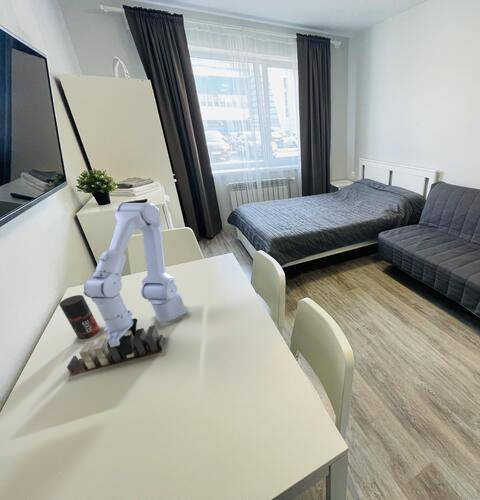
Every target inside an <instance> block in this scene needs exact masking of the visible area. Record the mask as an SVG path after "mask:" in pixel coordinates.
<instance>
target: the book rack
mask: <svg viewBox="0 0 480 500" xmlns="http://www.w3.org/2000/svg"><path fill="white" fill-rule="evenodd" d="M108 340H109V338H108V337H107V336H104V337H99V338H98V340H97V341H96V342H95V340H94V339H90V340H87V341H85V343H84V345H83V346H82V347H81V349H80V351H79V356H80V358H78V357H77V355H73V357H71V360H70V361H69V363H68V365H66V369H67V370H68V372H69V373H70V374H69V375H68V377H69V378H70V377H73V376H77V375H81V374H85V373H88V372H92V371H96V370H101V369H104V368H108V367H111V366H115V365H119V364H122V363H123V364H124V363H126V362H130V361H134V360H138V359H141V358H145V357H149V356H153V355H157V354H160V353H163V348H164V344H165V340H166V337H164V335H163V334H159V331H158V329H157V326H156V325H155V324H154V325H151V326H148V328H147V331H145V329H144V327H142V328H138V329H137V328H136V333H135V336H134V339H133V341H134V344H135V348H134V352H135V355H134V357H130V358H127V356H124V355H123V354H122V353H121V352H120V351H118V350H117V349H116V348H113V347H111V346H108V344H107V342H108Z"/></svg>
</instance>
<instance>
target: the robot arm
mask: <svg viewBox="0 0 480 500" xmlns="http://www.w3.org/2000/svg"><path fill="white" fill-rule="evenodd" d="M114 218H115V220H116V225H115V227H114V231H113V234H112V239H111V242H110V245H109V248H108V249H107V250H105V251H103V252H102V253H101V255H100V256H99V259H98V263H97V265H96V267H95V270H94V272H93V275H92V277H90V278H89V279H87V280H86V282H84V285H83V292H82V293H83V295H84V296H85V297H87V298H90V299H91V301H92V302H93V303H95V305H96V307H97V310H98V312H99V313H100V315H101V317H102V320H103V321H104V323H105V325H106V326H105V327H104V329H103V332H104V333H108V342H107V344H108V346H111V347H113V348H116V349H117V350H118V351H120V352H121V353H122V354H123V355H124V356H126V355H130V354H132V353H133V349H132V346H131V335H128V336H125V335H124V334H125V333H126V332H127V331H129V330H131V331H132V334H133V336H135V333H136V331H137V324H138V319H137V317H136V318H133V312H132V310H131V309H127V307H126V304H125V302H124V300H123V298H122V295H121V290H122V288H123V284H122V283H123V282H122V276H121V274H122V272H123V268H124V266H125V263H126V261H127V257H126V255H125V253H124V252H125V250H126V248H127V247H128V245H129V242H130V241H131V237H132V236H133V233H134V232H135V230H138V229H139V230H140V231H141V233H142V240H143V249H144V258H145V265H146V266H145V267H146V274H147V275H146V276H145V277H144V278H143V279H142V280H141V290H140V293H141V297H142V298H143V299H144V300H148V302H149V303H150V304H151V307H152V310H153V312H154V314H155V317H156V320H157V322H158V323H160V324H161V323H163V324H165V323H169V322H172V321H174V320H176V319H177V318H180V317H181V316H184V315H186V314H187V311H186V306H185V304H184V302H183V299H182V296H181V294H180V293H179V292H178V287H177V284H176V283H175V278H174V277H173V276H172V275H170V274H168V273H167V272H166V263H165V262H166V261H165V253H164V245H163V235H162V225H161V219H160V218H161V217H160V209H159V208H158V207H157V206H156V205H155V204H154V203H152V202H121V203H119V204H118V205H117V207H116V211H115V212H114ZM123 335H124V336H123Z"/></svg>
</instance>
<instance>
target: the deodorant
mask: <svg viewBox="0 0 480 500" xmlns="http://www.w3.org/2000/svg"><path fill="white" fill-rule="evenodd" d="M59 307H60V309H61V311H62V312H63V314H64V316H65V317H66V319H67V321H68V323H69V324H70V326H71V328H72V329H73V332H74V333H75V335H76V337H77V338H78V340H81V341H82V340H88V339H91V338H93V337H94V336H96V335H97V334H99V333H100V331H101V328H100V327H99V324H98V322H97V321H96V319H95V317H94V315H93V313H92V311H91V309H90V307H89V304H88V303H87V300H86V299H85V297H84V296H83V295H82V294H77V295H72V296H69V297H66V298H64V299H63V300H61V301H60V302H59Z"/></svg>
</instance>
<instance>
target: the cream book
mask: <svg viewBox="0 0 480 500" xmlns="http://www.w3.org/2000/svg"><path fill="white" fill-rule="evenodd" d="M124 335H125V336H128V335H131V346H132V349H133V353H132V354H130V355H126V356H127V358H130V357H134V355H135V352H134V348H135V344H134V341H133V339H134V336H133V334H132V331H131V330H129V331H127V332H126V333H125V334H124ZM124 335H123V336H124Z"/></svg>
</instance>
